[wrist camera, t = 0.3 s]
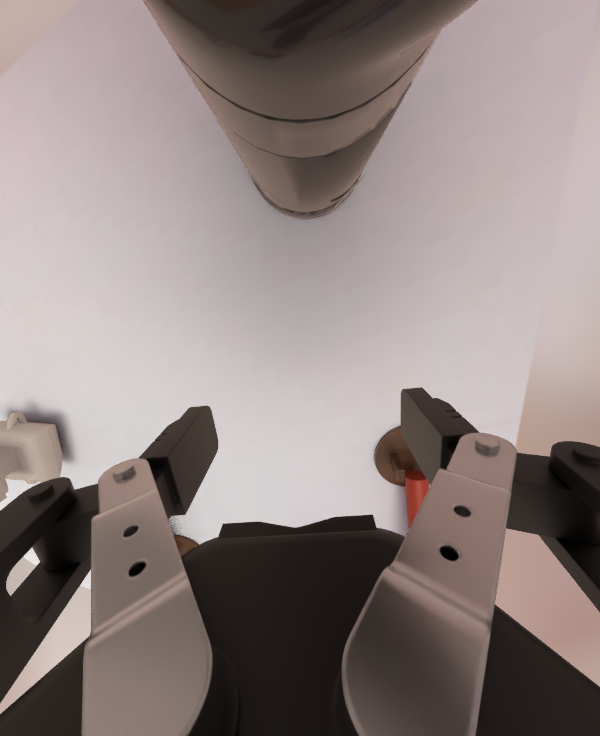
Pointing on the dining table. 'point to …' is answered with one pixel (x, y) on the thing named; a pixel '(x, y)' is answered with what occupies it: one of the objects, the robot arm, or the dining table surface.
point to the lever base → (394, 457)
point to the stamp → (28, 451)
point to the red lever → (415, 493)
